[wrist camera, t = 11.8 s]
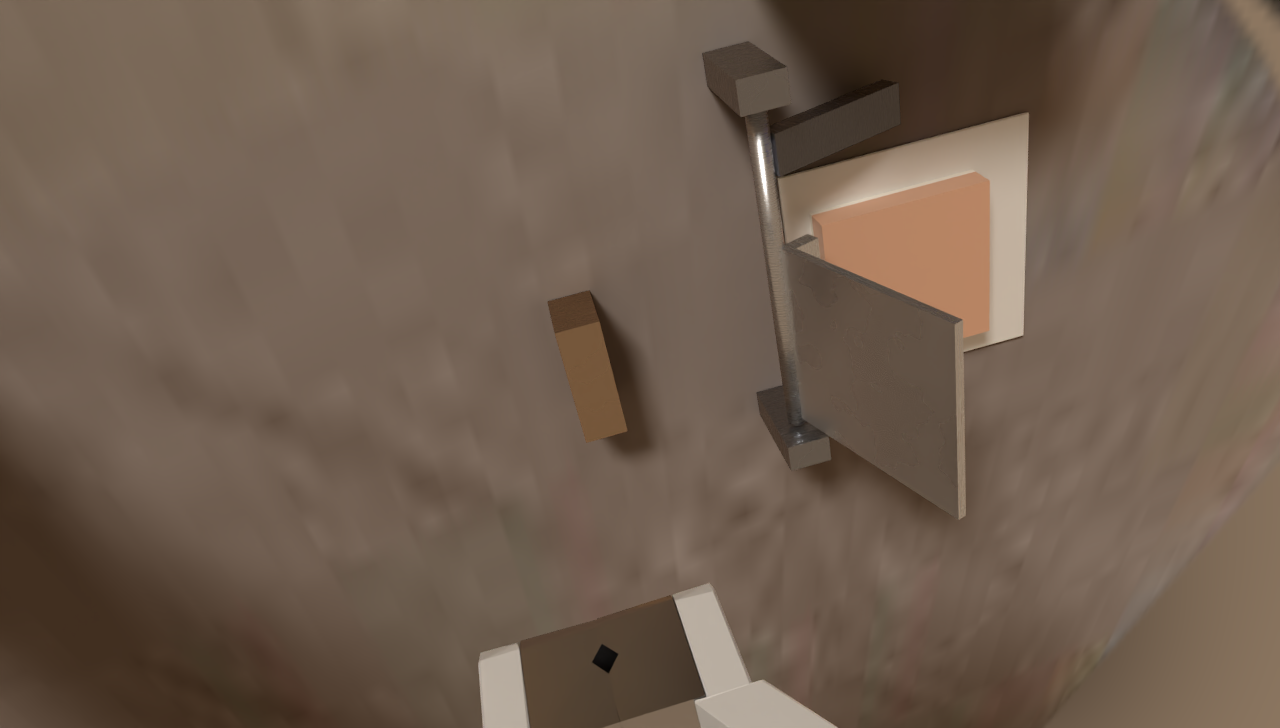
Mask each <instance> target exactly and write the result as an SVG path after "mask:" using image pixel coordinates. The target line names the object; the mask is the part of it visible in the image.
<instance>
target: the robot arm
mask: <svg viewBox="0 0 1280 728" xmlns="http://www.w3.org/2000/svg"><path fill="white" fill-rule="evenodd" d="M478 667H479V680H480V694H481V707H482V720H483V728H838V727H836V726H835V725H833V724H832V723H830V722H829V721H827V720H826V719H824V718H822V717H821V716H819V715H818V714H816V713H815V712H813V711H812V710H810V709H809V708H807V707H805V706H804V705H802V704H801V703H799V702H798V701H796V700H795V699H793V698H791V697H790V696H788V695H787V694H785V693H784V692H782V691H781V690H779V689H778V688H776V687H774V686H773V685H771V684H770V683H768V682H767V681H765V680H764V679H763V680H759V681H756V682H751V679H750V677H749V674H748V672H747V669H746V667H745V664H744V662H743V659H742V657H741V654H740V652H739V649H738V647H737V644H736V642H735V639H734V637H733V634H732V632H731V629H730V627H729V624H728V622H727V619H726V617H725V614H724V612H723V609H722V607H721V604H720V602H719V599H718V597H717V594H716V592H715V589H714V588H713V587H712V586H711V585H710V584H709V583H708V584H705V585H702V586H698V587H695V588H692V589H689V590H686V591H683V592H679V593H676V594H673V595H672V597H671V595H669V596H666V597H663V598H660V599H657V600H654V601H651V602H647V603H644V604H641V605H638V606H635V607H632V608H629V609H625V610H622V611H619V612H616V613H613V614H610V615H607V616H603V617H600V618H597V620H593V621H590V622H586V623H582V624H579V625H575V626H572V627H568V628H565V629H561V630H557V631H554V632H550V633H547V634H543V635H540V636H536V637H532V638H529V639H525V640H522V641H520V642H517V643H514V644H510V645H507V646H503V647H499V648H496V649H492V650H489V651H485V652H482V653H480V658H479V663H478Z"/></svg>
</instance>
